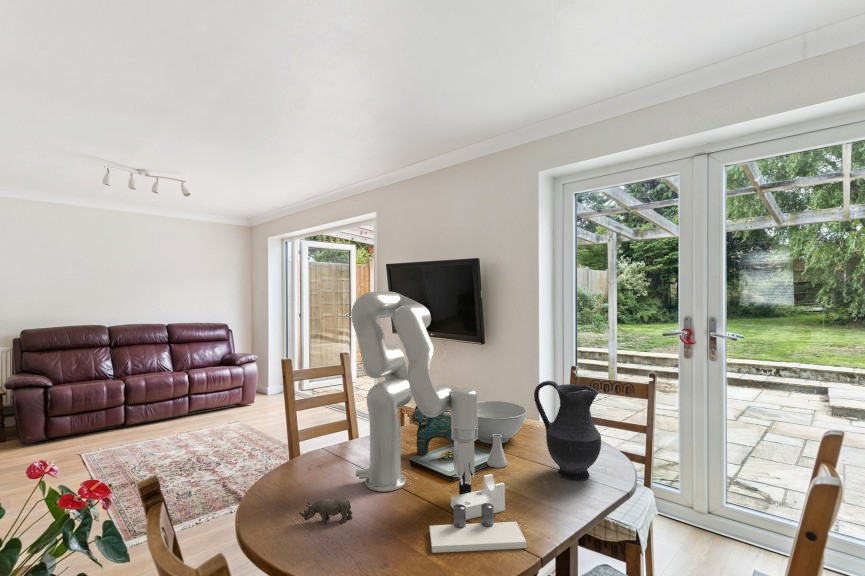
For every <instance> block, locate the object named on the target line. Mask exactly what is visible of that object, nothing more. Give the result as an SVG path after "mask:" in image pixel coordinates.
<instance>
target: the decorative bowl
mask: <svg viewBox="0 0 865 576" xmlns="http://www.w3.org/2000/svg"><path fill="white" fill-rule="evenodd" d="M527 414H528V409H527V408H526V407H525V406H523V405H521V404H518V403H513V402H508V401H501V400H481V401H478V400H477V424H478V439H477V440H479V441H480V442H481V443H484V444H490V445H493V436H492V435H493V434H500V435H502V437H501V444H505V443H507V442H509V440H510V438H512V437H514V436H515V434H517V433H518V432H519V431H520V429H521V428H522V427H523V424H524V422H525V420H526V417H527Z"/></svg>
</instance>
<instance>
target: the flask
mask: <svg viewBox="0 0 865 576" xmlns="http://www.w3.org/2000/svg"><path fill="white" fill-rule="evenodd" d="M492 436H493V444H492V445H491V446H492V447H491V450H490V453H489V455H488V458H487V462H486V463H487V466H488V467H491V468H506V467H507V466H508V464H509V463H508V460H507V458H506V455H505V452H504V449H503V443H501V437H502V435H500V434H493V435H492Z"/></svg>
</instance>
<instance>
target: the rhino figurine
mask: <svg viewBox="0 0 865 576" xmlns="http://www.w3.org/2000/svg"><path fill="white" fill-rule="evenodd" d="M306 507H307V508H308V509H307V510H306V509H305V510H304V509H303V512H301V511H298V514H299V515H300V516H301V517H303V518H304V521H308V520H310V519H312V518H314V517H315V515H316V514H319V515H320V518H321V521H320V523H319V524H320V525H321V526H324V525H326V524H327V521H329V520H330V519H331V517H333V516H337V515H339V514H340V515H341V519H340V520H339V522H338V523H339V524H341V525H343V524H346V523H347V520H348V521H349V520H352V519H353V516H352V514H353V511H352V510H351V508H352V507H351V502H350V500H349V499H347V498H346V497H336V498H333V499H326V498H319V499H317V500H315V501H313V502H312V503H311V502H310V501H307V504H306Z"/></svg>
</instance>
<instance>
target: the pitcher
mask: <svg viewBox="0 0 865 576" xmlns="http://www.w3.org/2000/svg"><path fill="white" fill-rule="evenodd" d="M546 386H550V387H553V388H554V389H555V390H556V392H557V394H558V398H559V408H558V411H557V413H556V416H555V418H554V420H553V421H552V422H551V421H550V420H549V419H548V417H547V414H546V411H545V410H544V407H543V404H542V403H541V400H540V396H539V394H540V393H539V391H540V390H541V389H542V388H543V387H546ZM598 395H599V391H598V390H597V389H595V388H593V387H592V386H591V387H590V386H588V385H584V384H577V383H575V384H570V383H568V384H558V382H555V381H553V380H545V381H542V382H540V383H539V384H537V385H536V387H535V389H534V392H533V397H534V398H533V399H534V402H535V405H536V409H537V411H538V413H539V415H540V417H541V420H542V422H543V424H544V427H545V432H546V435H545V437H546V439H545V440H546V446H547V451H548V452H549V453H548V454H549V456H550V458H551V459H552V460H553V462H554V463H555V464H556V465H557V466H558V468H559V469H558V472H557V473H558V475H559V476H560V477H562V478H564V479H566V480H570V481H586V480H587V479H589V478H590V473H589V470H588V469H589V468H591V467H592V466H593V465H594V463H595V462H596V461H597V459H598V458H599V455H600V453H601V449H602V437H601V436H602V434H601V433H600V432H599V430H598V429H597V427H596V425H595V423H594V421H593V417H592V413H591V406H592V404H593V402H594V400H595V399H596V397H597V396H598Z"/></svg>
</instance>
